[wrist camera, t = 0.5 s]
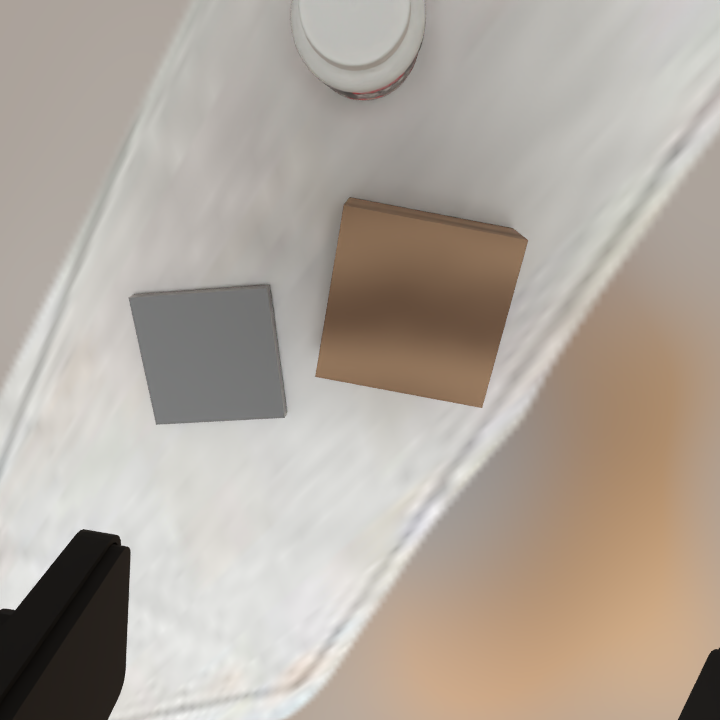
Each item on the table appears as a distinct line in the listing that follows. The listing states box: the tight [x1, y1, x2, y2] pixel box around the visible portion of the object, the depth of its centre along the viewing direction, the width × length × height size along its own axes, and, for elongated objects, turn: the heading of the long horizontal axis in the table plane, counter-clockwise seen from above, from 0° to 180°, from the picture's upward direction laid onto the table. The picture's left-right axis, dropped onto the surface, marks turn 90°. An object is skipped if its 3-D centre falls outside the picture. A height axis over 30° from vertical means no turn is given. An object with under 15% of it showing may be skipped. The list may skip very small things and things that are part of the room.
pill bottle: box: [291, 0, 426, 100], centre depth 26 cm, size 5×5×10 cm
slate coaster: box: [129, 285, 287, 425], centre depth 36 cm, size 8×8×1 cm
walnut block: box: [315, 198, 528, 408], centre depth 33 cm, size 9×9×4 cm
